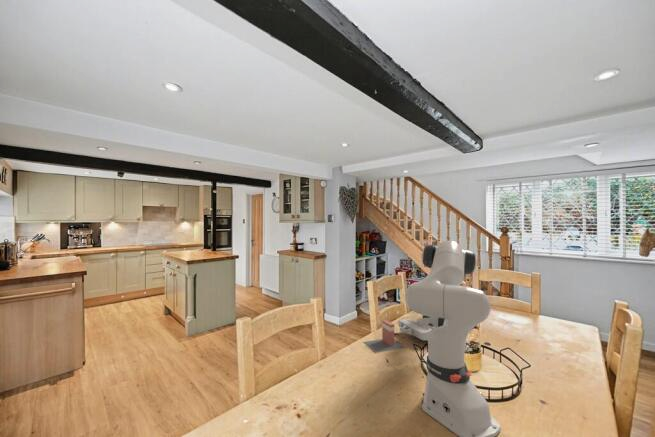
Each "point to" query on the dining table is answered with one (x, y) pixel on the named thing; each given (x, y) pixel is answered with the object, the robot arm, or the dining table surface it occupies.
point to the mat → (383, 345)
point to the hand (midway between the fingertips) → (401, 330)
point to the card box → (388, 332)
